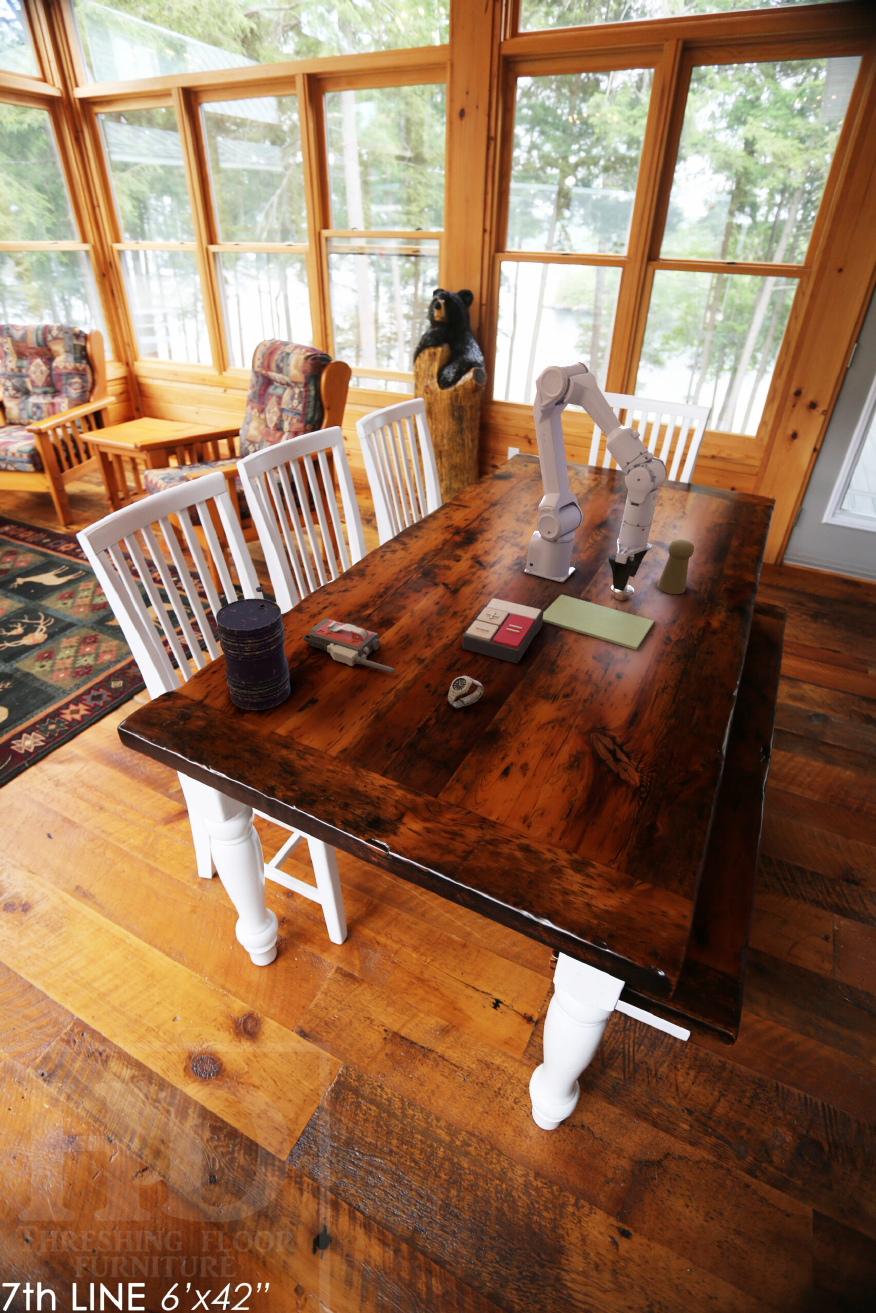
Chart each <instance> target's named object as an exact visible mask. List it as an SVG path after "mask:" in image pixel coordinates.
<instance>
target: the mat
mask: <svg viewBox="0 0 876 1313" xmlns="http://www.w3.org/2000/svg"><path fill="white" fill-rule="evenodd" d="M543 612H544V613H543V621H542V623H545V624H546V623H547V624H550V625H554V626H556V627H560V628H562V629H566V630H570V631H573V632H576V633H579V634H582V635H586V636H589V637H592V638H595V639H598V640H602V641H606V642H609V643H611V644H616V645H618V646H622V647H625V648H629V649H632V650H635V651H637V650H638V648H639V646H640V645H641V643H642V642H643V641H644V639H645V637H646V636H647V634H648V633H649V631H650V630H651V628H652V626H653V625H654V624H655V620H653V619H650V618H646V617H643V616H640V615H635V614H631V613H628V612H625V611H621V610H618V609H615V608H611V607H608V606H604V605H601V604H597V603H594V602H589V601H587V600H582V599H579V598H575V597H572V596H569V595H565V594H560V595H559V596H558V597H557V598H556V599H555V600H554V601H553V602H552V603H551V604H550V605H549V606H548V607H547V609H545V611H543Z"/></svg>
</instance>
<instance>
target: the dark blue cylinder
mask: <svg viewBox="0 0 876 1313" xmlns="http://www.w3.org/2000/svg"><path fill="white" fill-rule="evenodd" d="M264 591H265V587H263V586H258V587H256V588H255V592H256V593H263V592H264ZM215 621H216V624H217V635H218V640H219V647H220V648H221V651H222V653H223V655H224V660H225V677H226V684H227V687H228V690H229V697H230V700H231V701H232V703H233V704H234V705H235V706H236V707H238V708H240V709H244V710H249V711H261V710H267V709H271V708H273V707H276V706H278V705H280V704H282V703H283V702H284V701H285V700H287V698H289V696H290V693H291V684H290V670H289V669H290V668H289V663H288V659H287V657H286V654H285V640H286V635H285V627H284V623H283V617H282V610H281V607H280V606H279V604H277V603H275V602H274V601H272V600H269V599H265V598H244V599H238V600H235V601H232V602H230V603H228V604H225V605H224V606H222V607H221V608H220V609H218V610H217V612H216V615H215Z"/></svg>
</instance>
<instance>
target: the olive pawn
mask: <svg viewBox="0 0 876 1313" xmlns="http://www.w3.org/2000/svg"><path fill="white" fill-rule="evenodd" d="M667 551H668V557H667V560H666V562H665V565H664V566H663V570H662V572H661V575H660V577H659V579H658V582H657V584H656V587H657V589H659V590H660V591H661V592H663V593H667V594H671V595H682V594H683V593H685V592H686V586H687V578H688V571H689V562H690V558H692V556H693V555H694V551H695V546H694V543H692V542H691V541H689V540H686V539H681V538H678V539H674V540H671V542H670V543H669V544H668V548H667Z"/></svg>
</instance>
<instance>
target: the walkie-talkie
mask: <svg viewBox="0 0 876 1313" xmlns="http://www.w3.org/2000/svg"><path fill="white" fill-rule="evenodd" d="M303 641H304V642H305V643H308V644H310V646H311V647H314V648H316V649H320V650H322V651H325V652H327V653H329V654H330V656H331V657H332V659H333V661H336V662H339V663H343V664H345V665H348V666H350V667H353V666H354V665H355V664H356V665H362V666H365V667H369V668H372V669H374V670H378V671H384V672H387V673H391V674H395V673H396V672H395V668H393V667H390V666H387V665H384V664H380V663H378V662H375V661H372V660H369V659H367V656H368V655H370V654H371V653H372V652H373V651H377V650H378V649H379V647H380V644H381V642H380V639H379V634H378V633H377V632H374V631H371V630H367V629H365V628H364V627H361V626H357V625H355V624H351V623H344V622H340V621H337V620H334V619H330V618H329V619H328V618H324V619H322V620H321V621H320V622H319V623H317V624H316V625H315V626H313V627H312V628H310V630H309V634H305V635H304V636H303Z"/></svg>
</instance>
